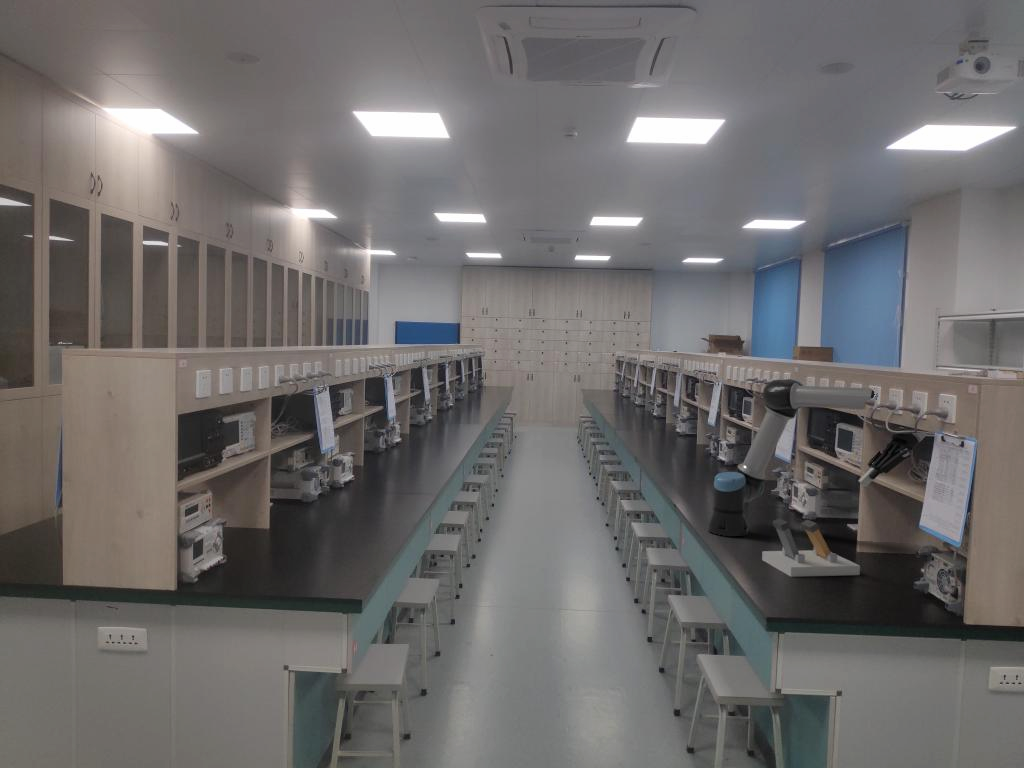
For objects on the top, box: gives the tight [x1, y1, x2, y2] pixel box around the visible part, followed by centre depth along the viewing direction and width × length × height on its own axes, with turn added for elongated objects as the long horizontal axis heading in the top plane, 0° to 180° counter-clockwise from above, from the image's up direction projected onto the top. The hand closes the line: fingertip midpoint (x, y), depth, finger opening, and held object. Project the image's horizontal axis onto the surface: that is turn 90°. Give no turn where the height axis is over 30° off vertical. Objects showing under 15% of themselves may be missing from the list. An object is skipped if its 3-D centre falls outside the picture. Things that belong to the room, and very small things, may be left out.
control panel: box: [761, 546, 861, 578], centre depth 214 cm, size 17×24×6 cm
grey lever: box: [772, 517, 799, 559], centre depth 212 cm, size 5×3×13 cm, turn 8°
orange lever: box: [800, 519, 832, 559], centre depth 214 cm, size 5×3×13 cm
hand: (862, 484), depth 217 cm, fingers closed
